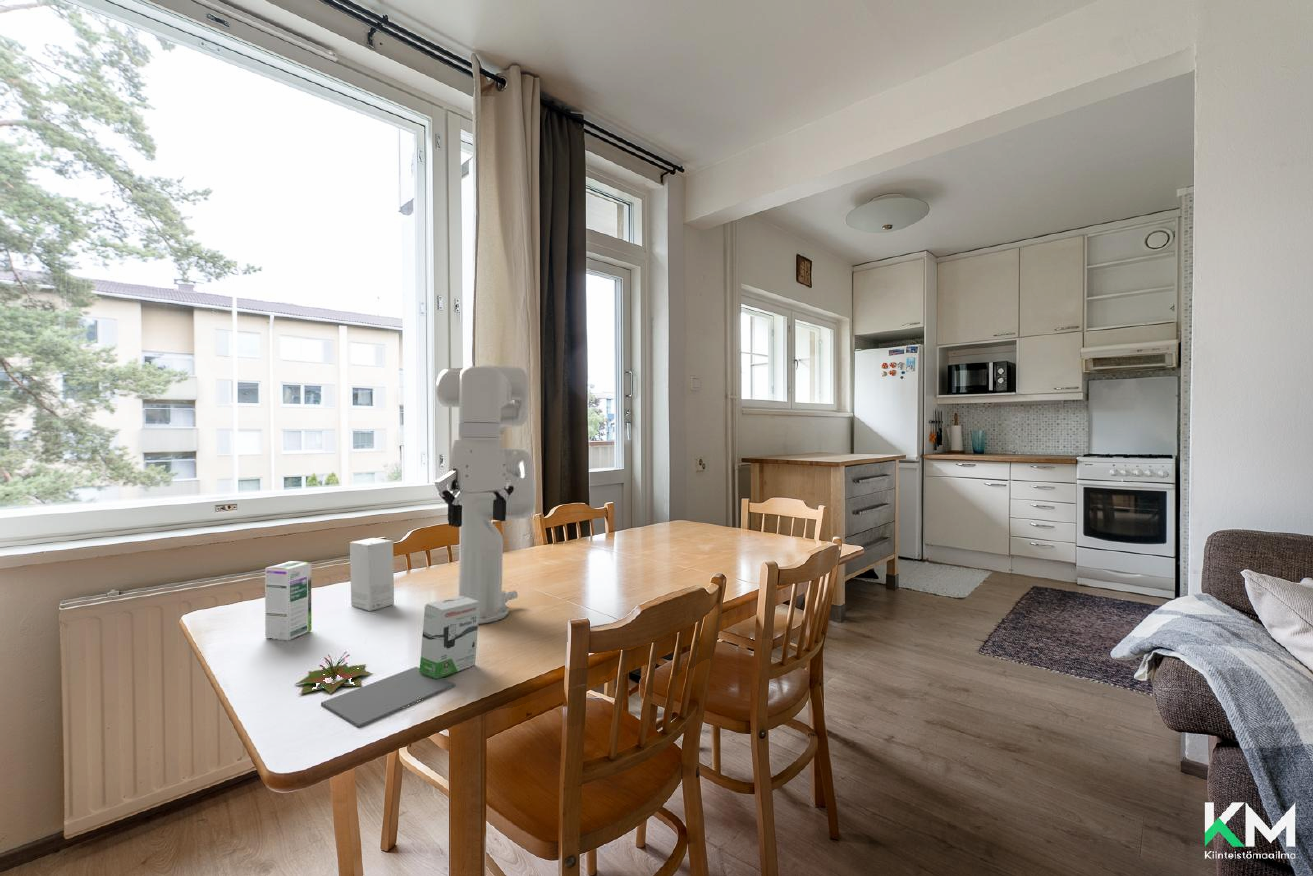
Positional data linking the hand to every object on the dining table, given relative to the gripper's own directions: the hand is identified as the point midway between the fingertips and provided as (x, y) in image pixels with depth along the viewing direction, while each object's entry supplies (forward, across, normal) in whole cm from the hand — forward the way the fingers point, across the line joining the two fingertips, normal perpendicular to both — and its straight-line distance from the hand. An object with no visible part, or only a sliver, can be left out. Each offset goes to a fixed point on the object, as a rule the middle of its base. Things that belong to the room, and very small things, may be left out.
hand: (477, 523), depth 104 cm
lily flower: (+26, +21, -10) cm, 35 cm away
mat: (+25, +18, +3) cm, 31 cm away
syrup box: (+25, +18, -38) cm, 49 cm away
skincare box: (+25, -2, -44) cm, 50 cm away
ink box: (+25, +7, +2) cm, 26 cm away
